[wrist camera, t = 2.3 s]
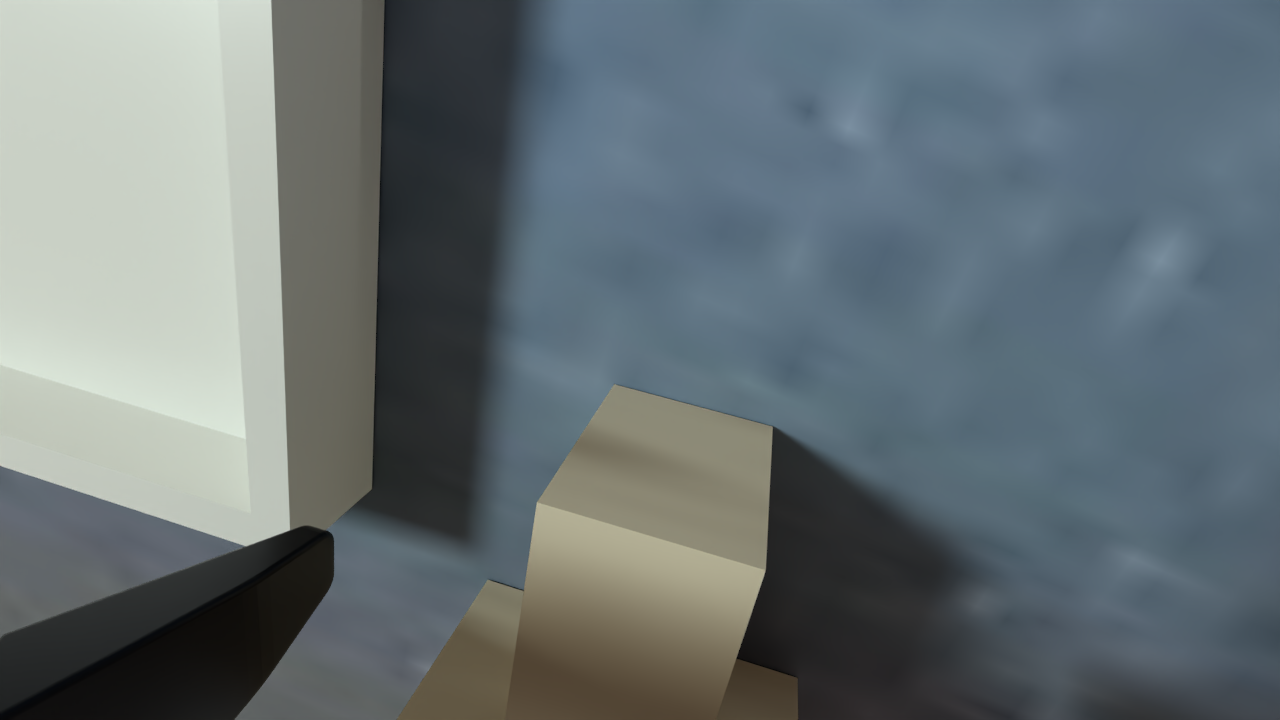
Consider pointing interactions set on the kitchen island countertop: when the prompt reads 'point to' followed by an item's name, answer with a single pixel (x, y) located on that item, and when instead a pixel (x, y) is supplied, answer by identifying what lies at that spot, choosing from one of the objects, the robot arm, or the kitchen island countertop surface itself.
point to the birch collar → (628, 582)
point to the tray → (192, 255)
